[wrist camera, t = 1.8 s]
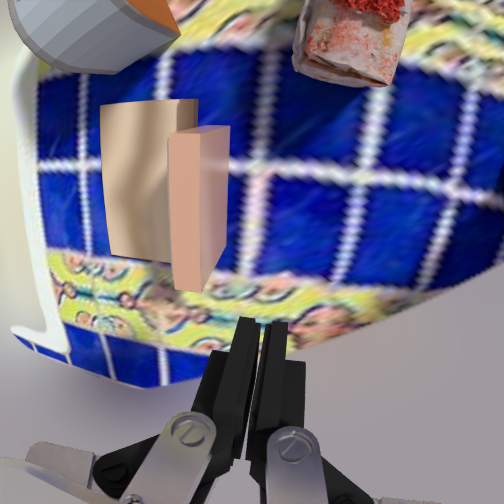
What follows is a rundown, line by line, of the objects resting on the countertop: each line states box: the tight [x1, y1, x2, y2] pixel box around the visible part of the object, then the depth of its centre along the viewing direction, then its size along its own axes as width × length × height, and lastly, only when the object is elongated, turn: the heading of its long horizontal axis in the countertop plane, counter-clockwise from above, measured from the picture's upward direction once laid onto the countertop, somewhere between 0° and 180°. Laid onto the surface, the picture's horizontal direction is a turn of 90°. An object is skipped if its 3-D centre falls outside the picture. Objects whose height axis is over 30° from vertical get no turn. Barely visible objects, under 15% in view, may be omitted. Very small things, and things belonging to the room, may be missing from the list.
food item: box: [292, 0, 413, 87], centre depth 17 cm, size 14×8×10 cm, turn 167°
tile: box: [167, 125, 230, 293], centre depth 26 cm, size 2×12×9 cm, turn 176°
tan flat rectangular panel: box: [100, 99, 179, 263], centre depth 30 cm, size 9×17×1 cm, turn 176°
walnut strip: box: [179, 99, 198, 131], centre depth 29 cm, size 1×17×1 cm, turn 176°
